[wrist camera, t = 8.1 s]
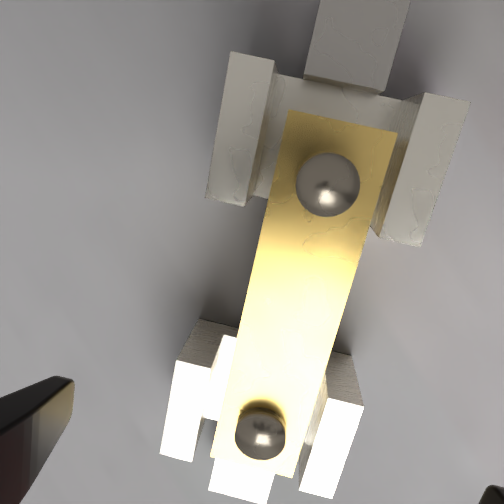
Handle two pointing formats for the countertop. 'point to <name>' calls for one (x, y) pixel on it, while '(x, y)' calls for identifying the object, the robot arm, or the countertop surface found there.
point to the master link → (299, 286)
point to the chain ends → (259, 184)
